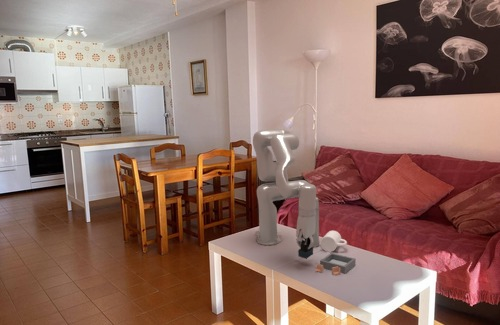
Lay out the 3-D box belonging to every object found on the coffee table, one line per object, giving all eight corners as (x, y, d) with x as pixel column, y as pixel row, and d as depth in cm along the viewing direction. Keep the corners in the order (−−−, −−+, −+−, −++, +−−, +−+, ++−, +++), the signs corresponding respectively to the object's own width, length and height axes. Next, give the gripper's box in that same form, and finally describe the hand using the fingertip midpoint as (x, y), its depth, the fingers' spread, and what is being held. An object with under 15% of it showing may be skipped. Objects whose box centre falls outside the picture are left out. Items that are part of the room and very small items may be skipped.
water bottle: (321, 243, 199) (321, 197, 195) (315, 248, 193) (315, 200, 189) (305, 241, 204) (305, 195, 200) (298, 245, 198) (298, 198, 194)
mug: (320, 250, 190) (320, 235, 189) (326, 244, 199) (326, 229, 198) (344, 254, 185) (344, 238, 184) (349, 247, 194) (349, 232, 192)
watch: (301, 250, 178) (300, 228, 176) (316, 255, 173) (315, 232, 170) (294, 255, 174) (293, 232, 172) (309, 259, 169) (309, 236, 166)
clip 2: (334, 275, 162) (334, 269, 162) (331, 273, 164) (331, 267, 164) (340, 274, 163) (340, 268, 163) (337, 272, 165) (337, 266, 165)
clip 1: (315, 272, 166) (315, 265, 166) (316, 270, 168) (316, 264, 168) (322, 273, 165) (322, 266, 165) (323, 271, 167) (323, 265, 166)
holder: (320, 266, 171) (320, 260, 171) (331, 258, 180) (331, 252, 179) (345, 273, 164) (345, 267, 163) (355, 264, 172) (355, 258, 172)
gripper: (308, 205, 177) (307, 243, 181) (290, 215, 165) (289, 254, 168) (323, 208, 173) (322, 246, 176) (305, 218, 160) (304, 259, 164)
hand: (306, 250), depth 172 cm, fingers closed on watch, 3 cm apart
